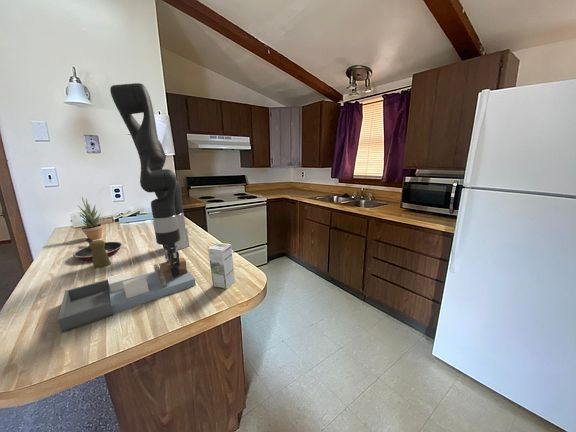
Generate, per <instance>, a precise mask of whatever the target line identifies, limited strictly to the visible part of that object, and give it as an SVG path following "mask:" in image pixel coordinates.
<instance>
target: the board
mask: <svg viewBox="0 0 576 432" xmlns="http://www.w3.org/2000/svg"><path fill="white" fill-rule="evenodd" d="M143 276H145V279H146V281H147V285H148V290H149V292H146V293H143V294H140V295H137V296H133V297H130V298H126V293H125V289H121V290H118V291H115V292H111V288H110V283H109V290H110V302H111V309H112V313H113V314H115V313H119V312H121V311H124V310H128V309H130V308H131V309H132V308H133V307H136V306H139V305H142V304H144V303H148V302H151V301H153V300H157V299H160V298H162V297H166V296H168V295H169V296H170V295H171V294H175V293H177V292H179V291H183V290H186V289H188V288H191V287H194V286H196V278H195V277H194V275H192V273H191V272H190V271H189V270H188V269H187V273H186V274H182V275H179V276H176V277H173V278H169V279H166V284H167V287H164V288H163V287H162V285H161V283H160V281H159V279H158V277H157V275H156V273H155V270H154V271H152V272H148V273H144V274H141V275H138V276H133V277H132V279H136V278H139V277H143Z"/></svg>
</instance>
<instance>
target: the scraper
mask: <svg viewBox="0 0 576 432" xmlns="http://www.w3.org/2000/svg"><path fill="white" fill-rule="evenodd" d="M174 263H176V262H174ZM174 263H173V264H174ZM179 263H180V266H178V269H179V275H182V274H186V273H187V270H188V267H187V261H186V259H185V258H184V257H179ZM153 269H154V271H155V273H156V275H157V277H158V279H159V281H160V283H161V285H162V287H163V288H164V287H167V284H166V279H169V278H173V276H172V271H171V267H170V262H169V261H168V262H167V261H165V262H160V263H159V265H158V263H156V264H153Z"/></svg>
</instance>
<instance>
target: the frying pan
mask: <svg viewBox="0 0 576 432" xmlns="http://www.w3.org/2000/svg"><path fill="white" fill-rule="evenodd" d="M85 241H86V242H87V243H88V245H87V246H84V247H81V248H79V249H77V250H75V251H74V252H73V253H72V256H73V257H75V258H77V259H79V260H81V261H93V255H92V249H90V247H89V244H90V243H91V242H93V241H94V240H92V239H90V238H87V237H86V238H85ZM104 242H105V241H104ZM122 246H123V243H122V242H121V241H120V242H119V241H106V242H105V247H104V248H105V250H106V253H107V255H108V257H111V256H113V255H115V254H117V253H118V252H119V250H120V249H121V248H122Z"/></svg>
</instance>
